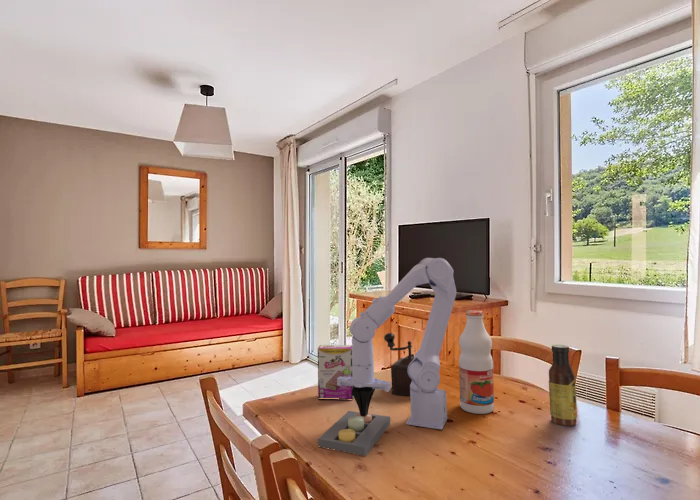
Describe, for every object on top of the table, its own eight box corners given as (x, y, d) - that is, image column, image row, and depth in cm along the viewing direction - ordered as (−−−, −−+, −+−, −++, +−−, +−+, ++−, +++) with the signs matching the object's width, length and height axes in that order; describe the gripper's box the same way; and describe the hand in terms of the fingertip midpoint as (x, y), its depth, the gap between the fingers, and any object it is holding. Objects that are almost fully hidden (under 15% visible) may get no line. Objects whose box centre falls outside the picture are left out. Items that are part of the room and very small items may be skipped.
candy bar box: (318, 400, 125) (316, 348, 125) (320, 395, 130) (319, 344, 130) (353, 401, 124) (352, 348, 124) (355, 395, 129) (353, 344, 129)
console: (390, 424, 106) (390, 416, 106) (365, 456, 90) (365, 447, 90) (349, 418, 111) (348, 410, 111) (318, 447, 95) (318, 438, 95)
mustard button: (358, 440, 96) (357, 430, 96) (351, 447, 93) (351, 437, 93) (343, 437, 98) (342, 427, 98) (335, 444, 94) (335, 434, 94)
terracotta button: (374, 422, 107) (374, 412, 107) (368, 428, 103) (368, 418, 103) (360, 419, 108) (360, 411, 108) (354, 425, 105) (354, 416, 105)
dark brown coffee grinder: (431, 387, 134) (429, 334, 135) (422, 398, 124) (421, 340, 125) (387, 382, 141) (386, 331, 141) (376, 392, 131) (374, 337, 131)
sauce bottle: (581, 428, 101) (578, 349, 101) (554, 426, 102) (551, 348, 103) (572, 417, 108) (569, 343, 108) (547, 416, 109) (544, 343, 109)
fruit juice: (475, 400, 122) (473, 308, 122) (501, 409, 114) (498, 311, 114) (453, 406, 117) (450, 310, 118) (478, 417, 109) (476, 314, 110)
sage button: (366, 426, 102) (366, 417, 102) (360, 433, 98) (360, 423, 98) (352, 424, 103) (351, 415, 103) (345, 430, 100) (345, 421, 100)
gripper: (331, 364, 105) (332, 416, 105) (383, 370, 99) (385, 425, 99) (342, 358, 112) (344, 407, 111) (392, 362, 106) (394, 414, 106)
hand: (364, 415), depth 106 cm, fingers closed, pressing on terracotta button
